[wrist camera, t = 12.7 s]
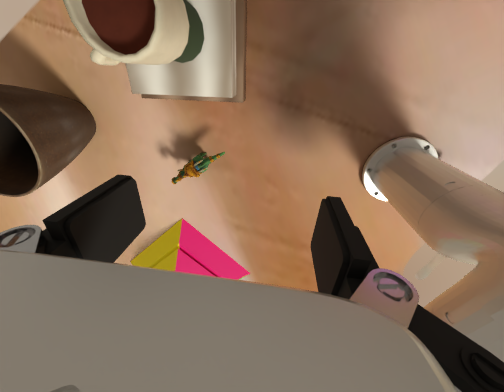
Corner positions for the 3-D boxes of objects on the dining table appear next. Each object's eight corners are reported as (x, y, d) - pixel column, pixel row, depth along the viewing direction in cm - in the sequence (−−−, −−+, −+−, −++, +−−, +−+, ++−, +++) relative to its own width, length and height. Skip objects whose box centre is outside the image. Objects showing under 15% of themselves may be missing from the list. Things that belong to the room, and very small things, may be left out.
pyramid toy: (128, 259, 60) (91, 307, 48) (183, 213, 50) (154, 258, 38) (195, 303, 68) (178, 354, 56) (253, 271, 59) (248, 324, 46)
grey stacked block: (247, -32, 28) (239, -66, 21) (245, 99, 36) (239, 105, 29) (130, -34, 29) (87, -67, 22) (154, 95, 37) (127, 101, 30)
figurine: (176, 165, 44) (158, 182, 36) (225, 137, 40) (215, 150, 33) (185, 177, 45) (169, 196, 38) (233, 151, 41) (226, 167, 34)
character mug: (189, -41, 23) (108, -153, 11) (233, 25, 25) (202, -13, 14) (130, 39, 27) (27, 15, 15) (173, 89, 29) (111, 100, 18)
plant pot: (132, 140, 42) (64, 173, 28) (81, 169, 46) (-1, 210, 32) (72, 58, 35) (-56, 49, 21) (19, 100, 39) (-117, 115, 26)
